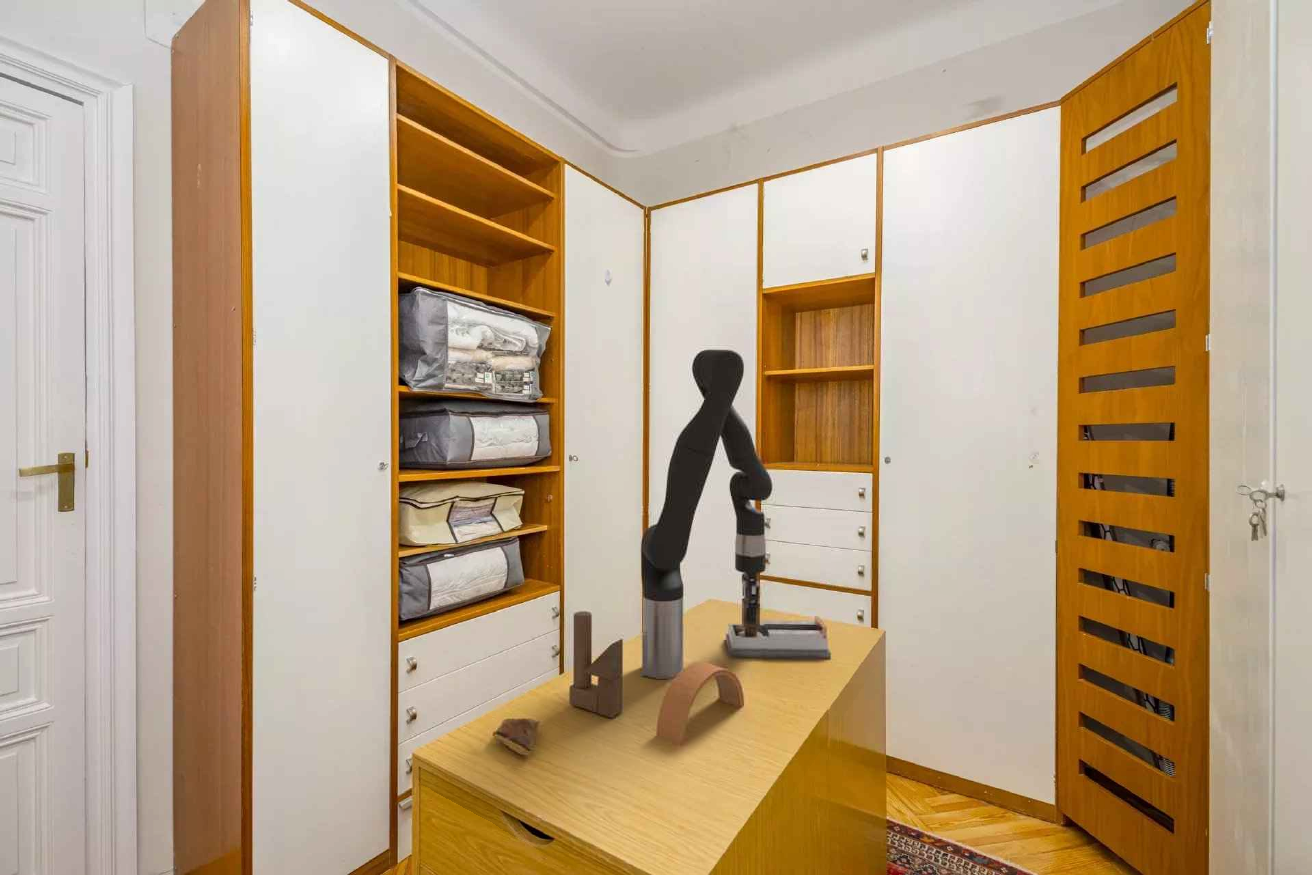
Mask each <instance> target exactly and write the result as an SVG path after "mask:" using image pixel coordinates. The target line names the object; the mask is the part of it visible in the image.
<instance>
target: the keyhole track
mask: <svg viewBox="0 0 1312 875" xmlns="http://www.w3.org/2000/svg"><path fill="white" fill-rule="evenodd" d="M827 629H828V628H827V626H826V625H825V623H824V621H822V619H821V618H820V617H819V616H816V615H815V616H814V620H773V619H771V620H770V619H766V620H764V619H763V620H762V623H760V628H757V632H760V633H762V634H763V636H739V633H740V632H742V631H745V627H743V624H742V623H727V633H725V641H726V642H725V643H726V646H727V651H728V655H729V658H740V659H742V658H743V659H744V658H746V659H748V658H749V659H755V658H756V659H765V658H766V659H829V660H830V659H832V652H831V651H830V650H829V648H828V646H829V644H828V643H829V642H828V640H829V639H828V637H827V636H828V635H827V633H828V632H827V631H828V630H827Z"/></svg>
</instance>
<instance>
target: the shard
mask: <svg viewBox="0 0 1312 875" xmlns="http://www.w3.org/2000/svg"><path fill="white" fill-rule="evenodd" d="M539 725H540V721H539V720H535V719H531V718H505V719H503V720H502V722H501V723H500V726H499V727H498V728H497V729H496V730H495V731H493V733H492V738H493V739H494V740H495V741H499V742H501V743H502V744H503V745H506V746H507V747H508V748H510V749H511V750H513V751H515V752H516V753H517V754H520V755H524V756H526V757H529V758H530V757H531V754H532V748H533V744H534V740H535V739H536V735H537V733H538V730H539V727H540V726H539Z"/></svg>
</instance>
